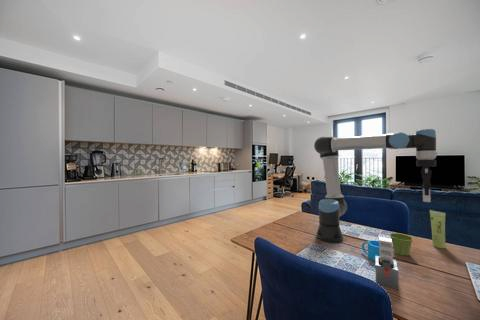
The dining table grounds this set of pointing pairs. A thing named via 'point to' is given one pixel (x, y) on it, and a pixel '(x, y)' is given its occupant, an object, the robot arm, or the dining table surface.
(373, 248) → the mug
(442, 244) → the tube
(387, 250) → the column
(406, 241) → the plant pot
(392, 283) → the stand
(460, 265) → the dining table surface
